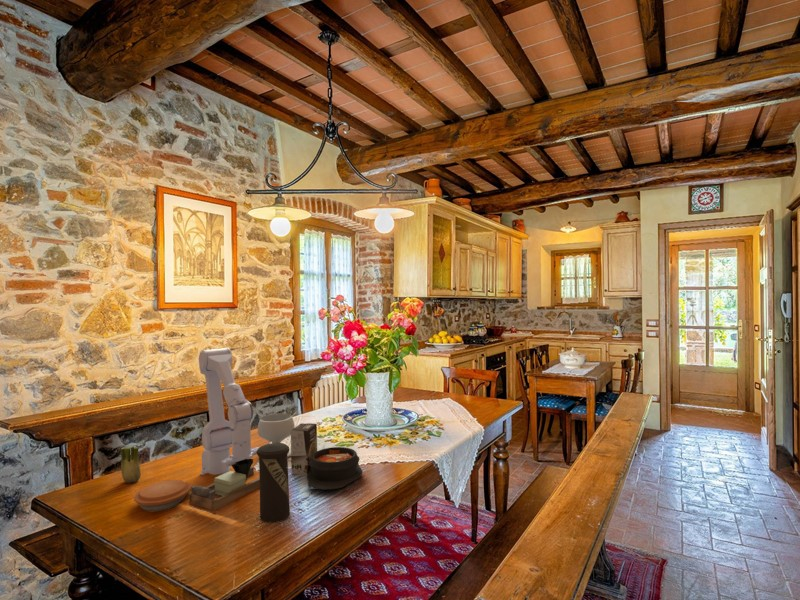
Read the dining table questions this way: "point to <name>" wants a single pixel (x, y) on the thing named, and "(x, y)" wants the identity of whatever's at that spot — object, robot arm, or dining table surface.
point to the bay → (208, 500)
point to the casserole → (333, 468)
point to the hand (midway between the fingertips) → (242, 482)
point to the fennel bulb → (130, 464)
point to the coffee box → (303, 447)
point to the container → (274, 482)
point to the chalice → (276, 427)
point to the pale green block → (229, 482)
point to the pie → (162, 495)
